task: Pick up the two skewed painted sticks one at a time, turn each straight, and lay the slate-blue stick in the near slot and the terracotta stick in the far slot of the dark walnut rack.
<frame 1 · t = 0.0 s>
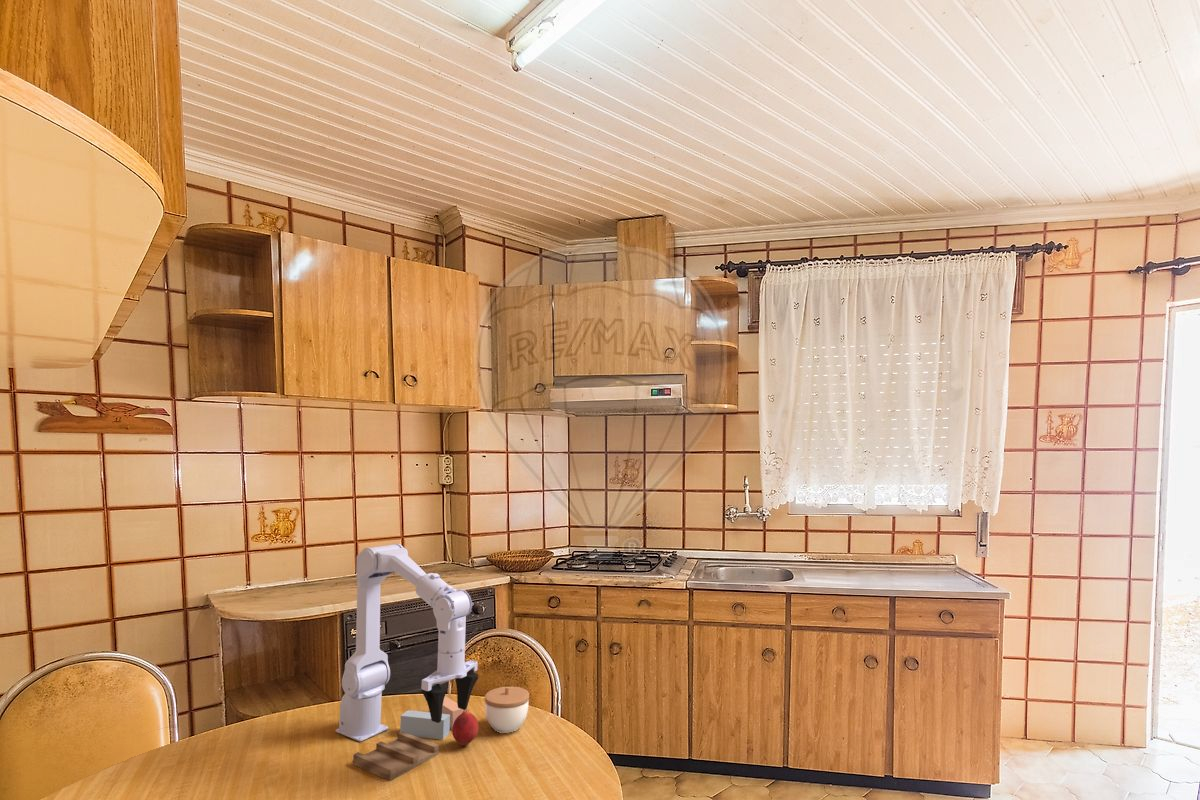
hand: (449, 714, 128), 10 cm above the table, tool pointing down, fingers open, 7 cm apart
lidded jar: (506, 728, 145), on the table
onion: (464, 746, 135), on the table
slate blue stick: (424, 735, 141), on the table
terracotta stick: (447, 721, 148), on the table
walnut rack: (396, 759, 129), on the table
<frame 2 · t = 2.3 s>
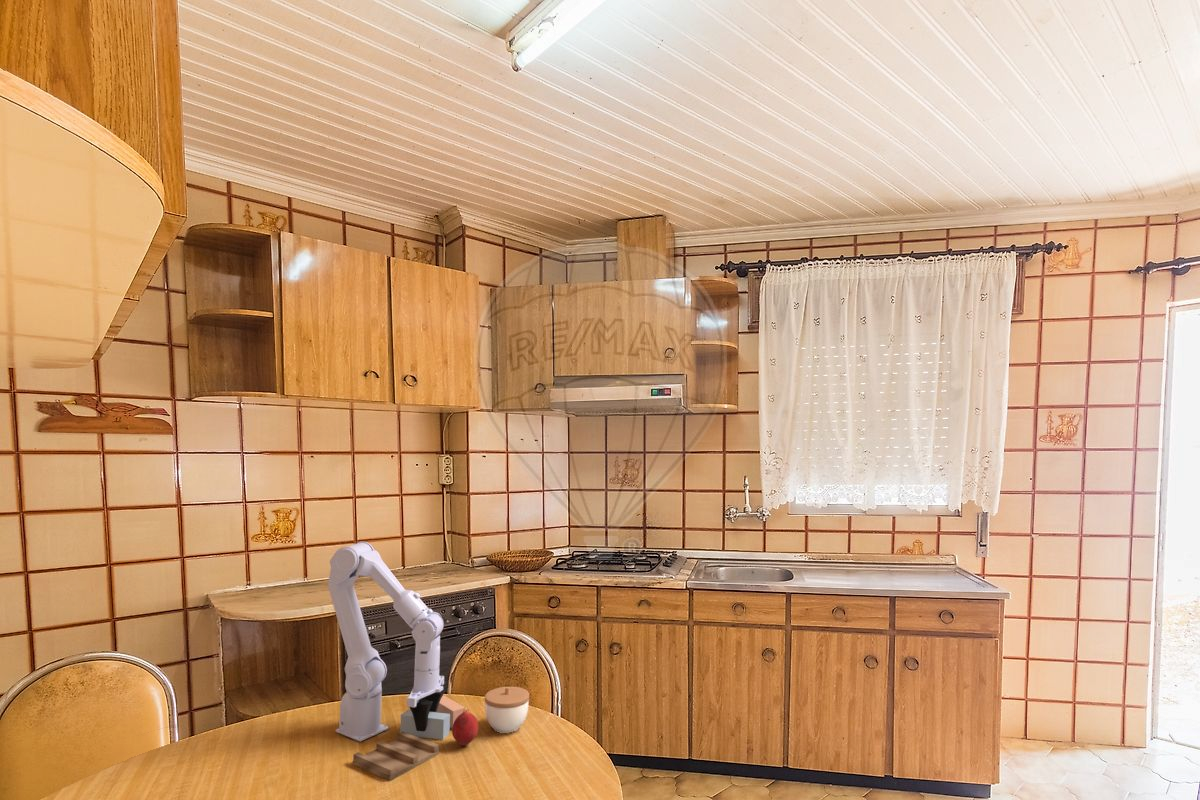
hand: (425, 726, 141), 2 cm above the table, tool pointing down, fingers closed on slate blue stick, 3 cm apart
slate blue stick: (424, 734, 141), on the table, touching gripper
everything else where it was.
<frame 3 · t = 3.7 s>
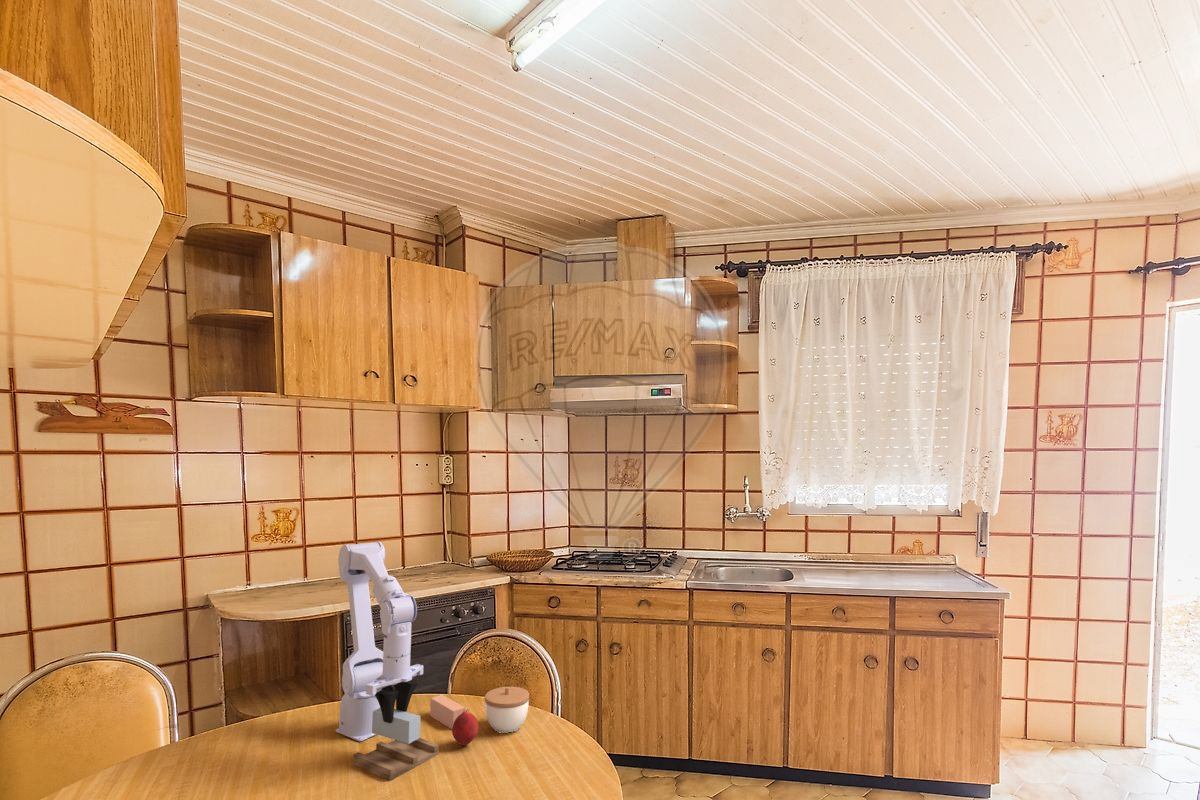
hand: (394, 718, 130), 8 cm above the table, tool pointing down, fingers closed on slate blue stick, 3 cm apart
slate blue stick: (395, 735, 129), point 5 cm above the table, touching gripper
everything else where it was.
when the fingers open (4 cm above the table, at t = 5.1 s): slate blue stick stays where it is, resting on walnut rack.
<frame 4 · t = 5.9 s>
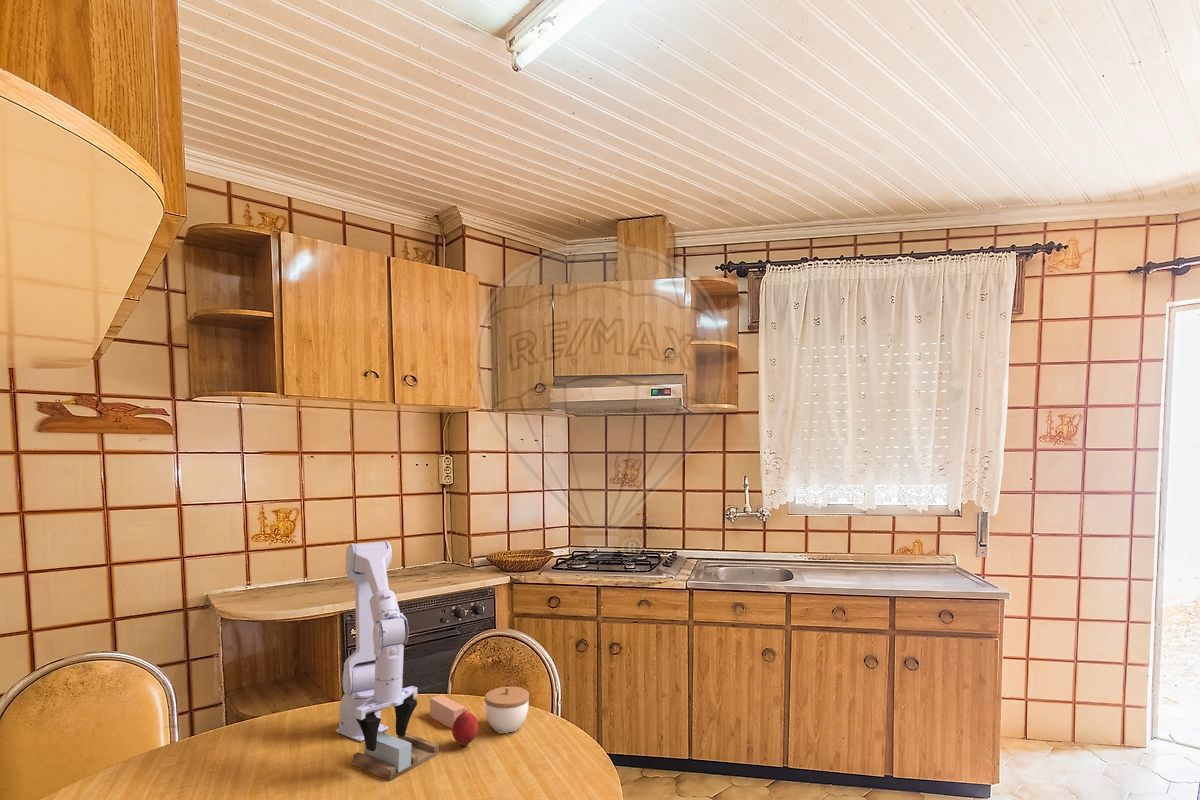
hand: (386, 742, 127), 5 cm above the table, tool pointing down, fingers open, 7 cm apart
slate blue stick: (387, 761, 127), point 1 cm above the table, touching walnut rack
everything else where it was.
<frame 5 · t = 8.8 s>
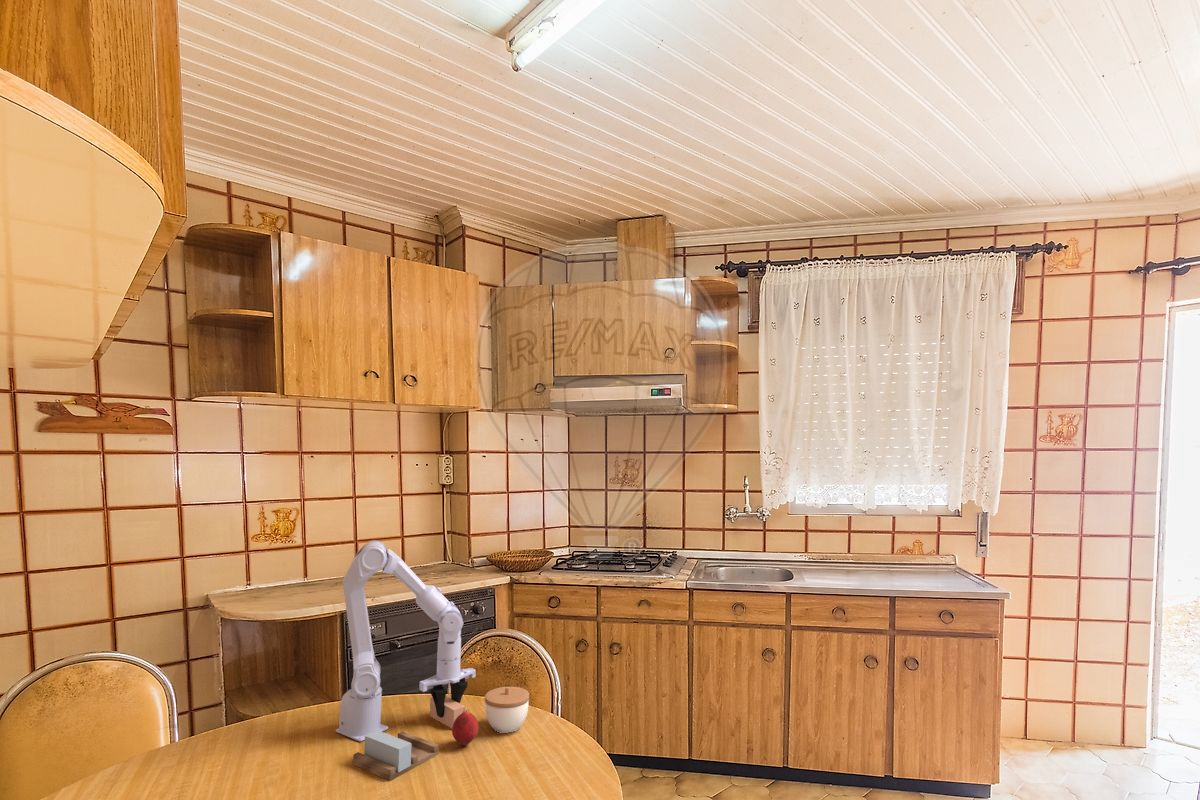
hand: (447, 713, 148), 2 cm above the table, tool pointing down, fingers closed on terracotta stick, 3 cm apart
terracotta stick: (447, 720, 148), on the table, touching gripper
everything else where it was.
when the fingers open (8 cm above the table, at t = 10.5 s): terracotta stick drops 2 cm and tips over, resting on walnut rack.
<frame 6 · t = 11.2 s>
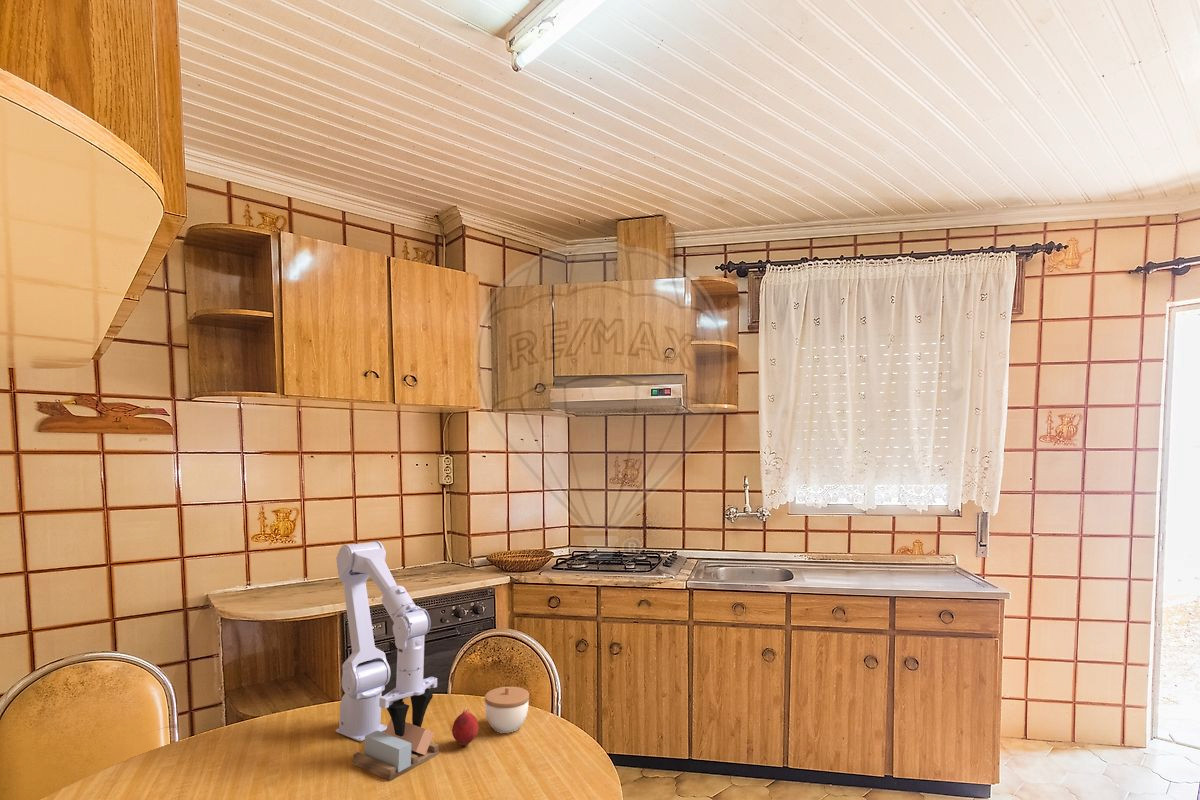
hand: (408, 730, 132), 5 cm above the table, tool pointing down, fingers open, 4 cm apart
terracotta stick: (403, 746, 131), point 2 cm above the table, tilted 33°, touching gripper, walnut rack
everything else where it was.
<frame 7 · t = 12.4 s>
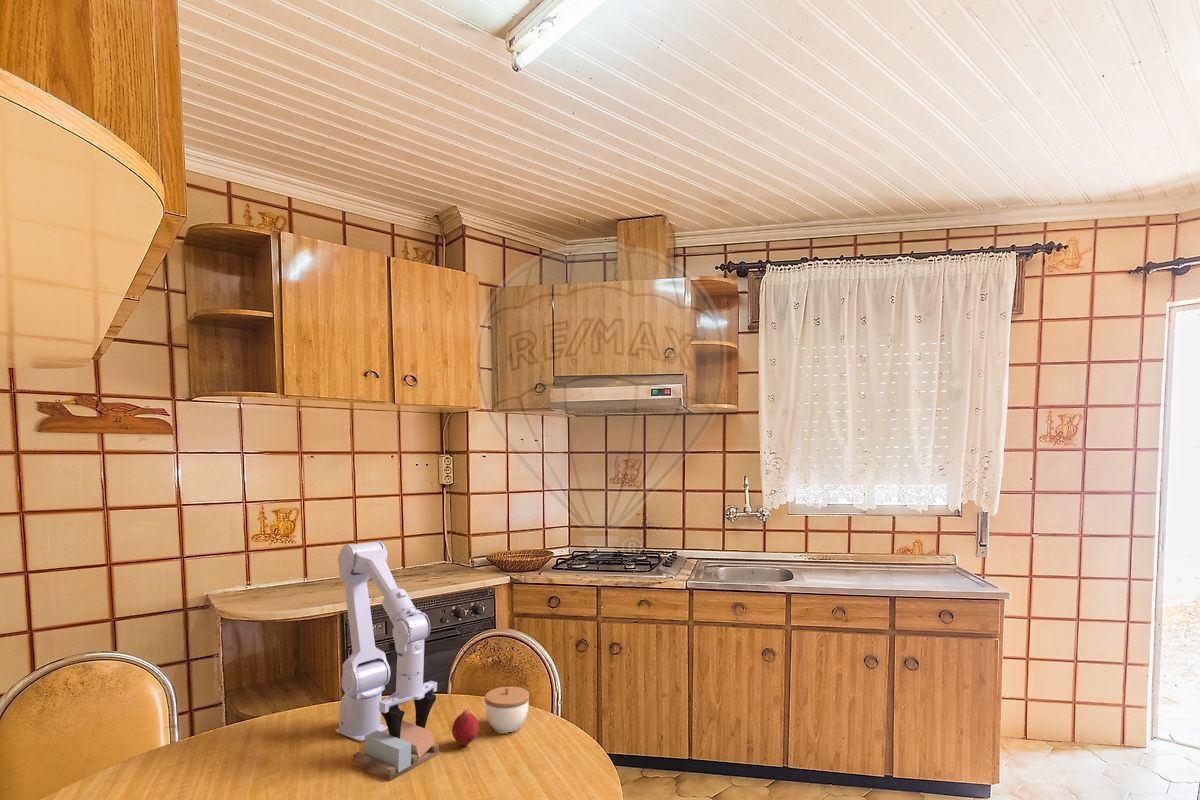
hand: (407, 735, 132), 4 cm above the table, tool pointing down, fingers open, 6 cm apart
slate blue stick: (387, 761, 127), point 1 cm above the table, touching gripper, walnut rack
terracotta stick: (400, 745, 131), point 2 cm above the table, tilted 71°, touching walnut rack
everything else where it was.
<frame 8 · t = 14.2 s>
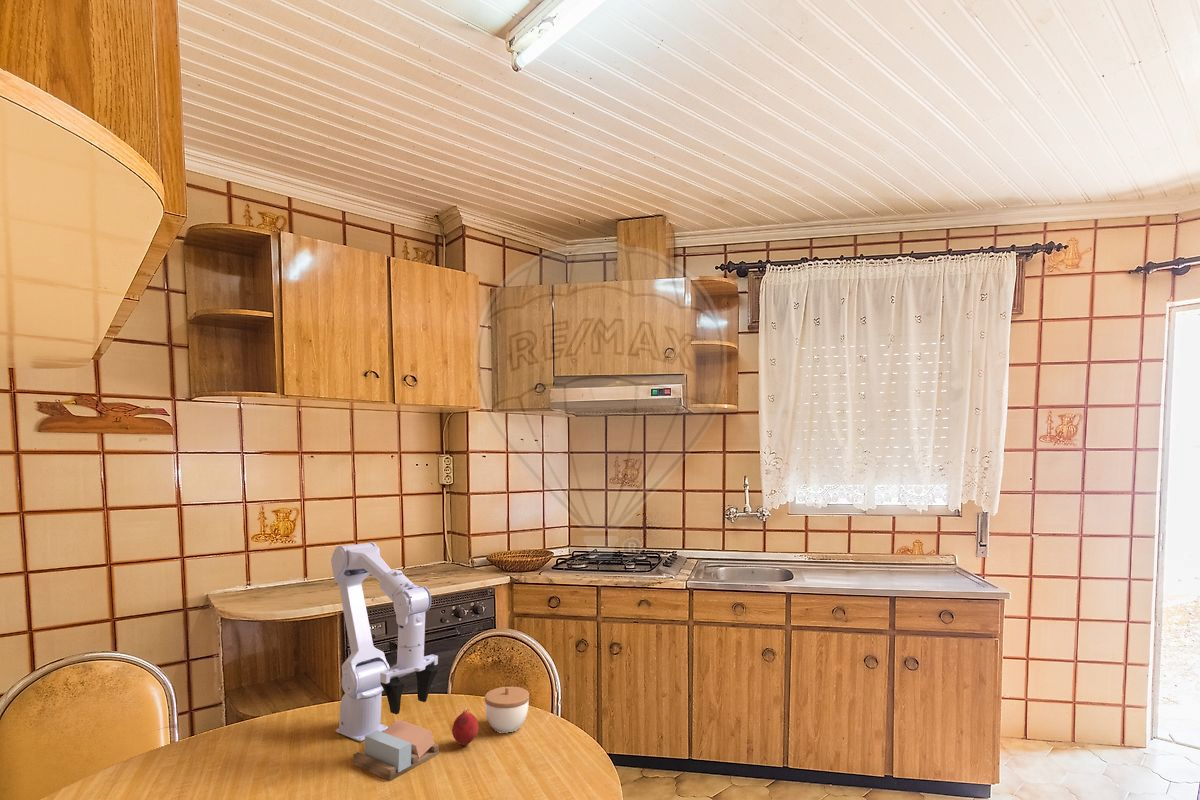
hand: (408, 706, 133), 10 cm above the table, tool pointing down, fingers open, 7 cm apart
slate blue stick: (387, 761, 127), point 1 cm above the table, touching walnut rack
everything else where it was.
at the end: slate blue stick 0.5 cm from the target spot on the walnut rack, point 0.8 cm above the walnut rack's base; terracotta stick 1.7 cm from the target spot on the walnut rack, point 2.3 cm above the walnut rack's base; the gripper is holding nothing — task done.
